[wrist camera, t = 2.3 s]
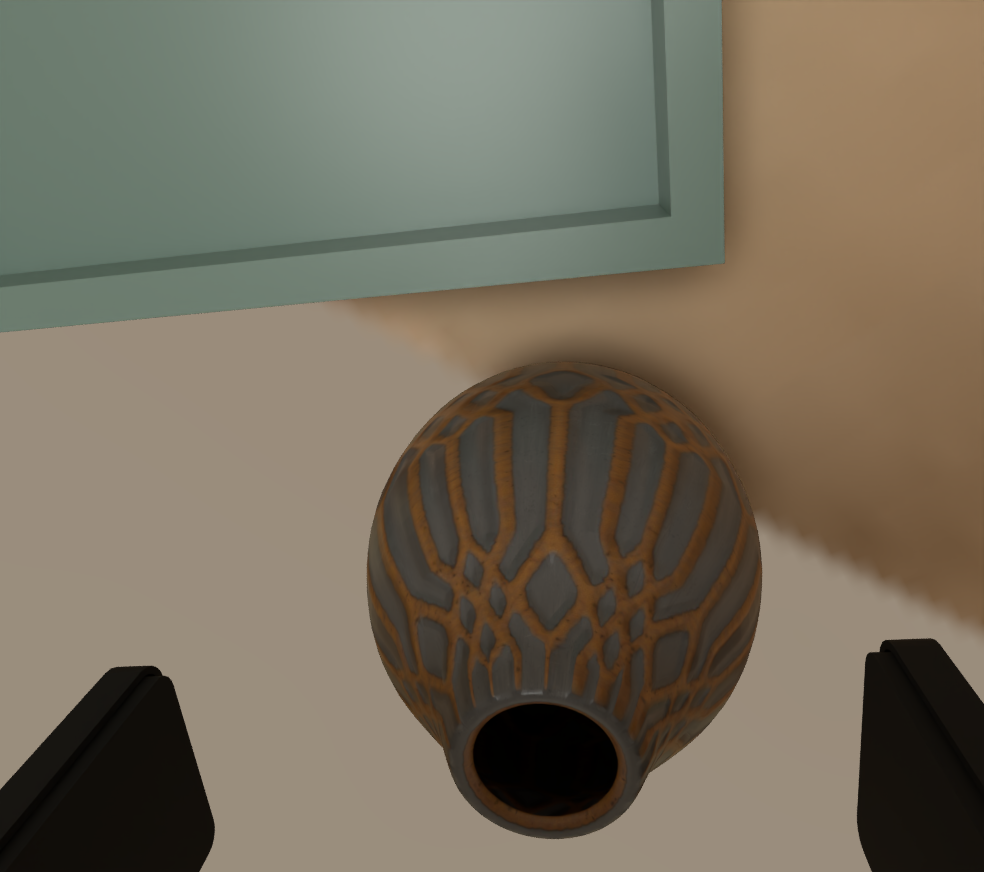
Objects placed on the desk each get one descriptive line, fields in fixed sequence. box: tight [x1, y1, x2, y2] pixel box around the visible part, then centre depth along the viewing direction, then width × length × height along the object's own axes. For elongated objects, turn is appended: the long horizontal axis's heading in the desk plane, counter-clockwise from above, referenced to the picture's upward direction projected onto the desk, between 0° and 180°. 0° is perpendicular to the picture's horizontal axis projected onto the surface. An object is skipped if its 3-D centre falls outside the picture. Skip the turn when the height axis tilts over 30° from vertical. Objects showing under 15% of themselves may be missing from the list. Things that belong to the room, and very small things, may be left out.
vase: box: [367, 362, 762, 839], centre depth 14 cm, size 7×7×9 cm
